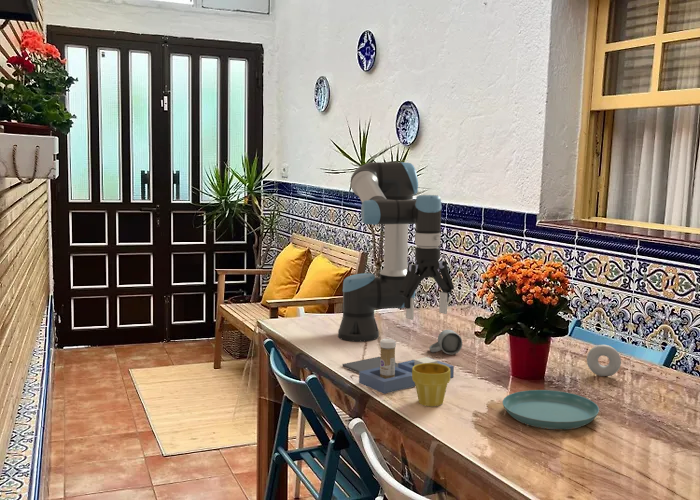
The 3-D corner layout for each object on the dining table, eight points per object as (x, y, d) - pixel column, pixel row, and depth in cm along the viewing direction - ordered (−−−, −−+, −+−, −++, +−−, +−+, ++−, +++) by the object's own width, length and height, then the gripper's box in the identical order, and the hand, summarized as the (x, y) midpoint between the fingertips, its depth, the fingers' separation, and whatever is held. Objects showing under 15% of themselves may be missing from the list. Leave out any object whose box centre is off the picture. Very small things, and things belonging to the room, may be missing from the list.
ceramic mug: (457, 348, 250) (457, 326, 249) (462, 354, 242) (462, 332, 241) (427, 349, 249) (427, 327, 248) (431, 355, 241) (431, 333, 240)
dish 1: (359, 382, 211) (359, 371, 211) (390, 375, 218) (390, 364, 218) (384, 393, 201) (384, 381, 201) (416, 386, 208) (416, 374, 208)
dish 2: (398, 374, 220) (398, 363, 219) (427, 367, 227) (427, 356, 226) (423, 384, 210) (424, 372, 210) (453, 377, 217) (453, 365, 217)
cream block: (414, 375, 219) (414, 359, 218) (426, 372, 222) (426, 357, 221) (424, 379, 215) (425, 363, 214) (437, 376, 218) (437, 360, 217)
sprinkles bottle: (376, 384, 209) (376, 340, 208) (385, 381, 213) (386, 337, 211) (388, 388, 207) (389, 343, 205) (398, 384, 210) (398, 340, 208)
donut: (620, 377, 217) (622, 345, 216) (619, 380, 214) (621, 348, 213) (586, 372, 222) (588, 341, 220) (585, 375, 218) (586, 344, 217)
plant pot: (425, 411, 187) (425, 375, 186) (404, 399, 197) (405, 365, 195) (457, 405, 192) (458, 370, 191) (435, 394, 201) (436, 360, 200)
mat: (342, 366, 228) (342, 364, 227) (379, 358, 236) (379, 356, 236) (370, 378, 215) (370, 375, 215) (408, 369, 224) (408, 367, 224)
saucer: (552, 395, 201) (552, 384, 201) (619, 424, 180) (620, 411, 180) (483, 409, 190) (483, 397, 190) (546, 441, 169) (547, 427, 169)
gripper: (403, 251, 203) (402, 323, 206) (466, 245, 217) (464, 312, 220) (387, 248, 209) (386, 318, 212) (449, 242, 223) (448, 308, 226)
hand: (426, 316), depth 216 cm, fingers open, 13 cm apart
